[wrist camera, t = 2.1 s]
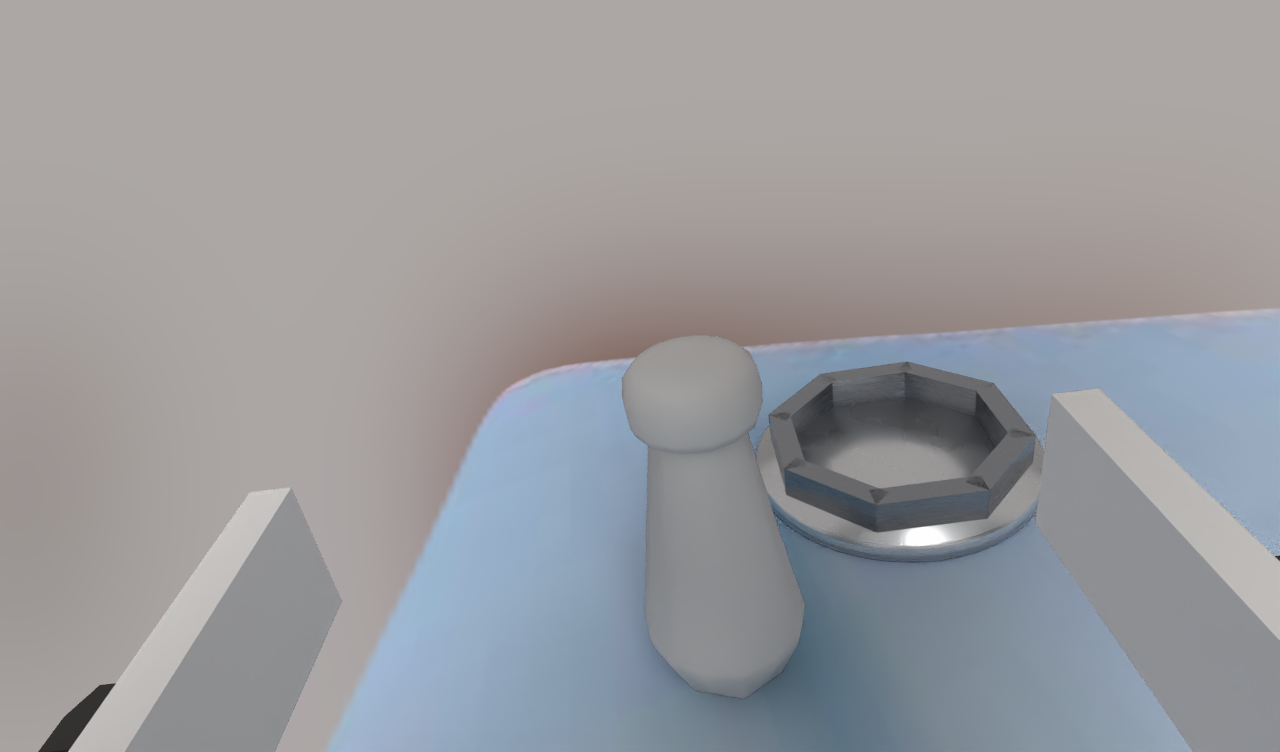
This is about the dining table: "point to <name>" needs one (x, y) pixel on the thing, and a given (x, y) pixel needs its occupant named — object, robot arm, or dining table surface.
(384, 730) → the dining table surface
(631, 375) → the salt shaker
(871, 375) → the steel collar
